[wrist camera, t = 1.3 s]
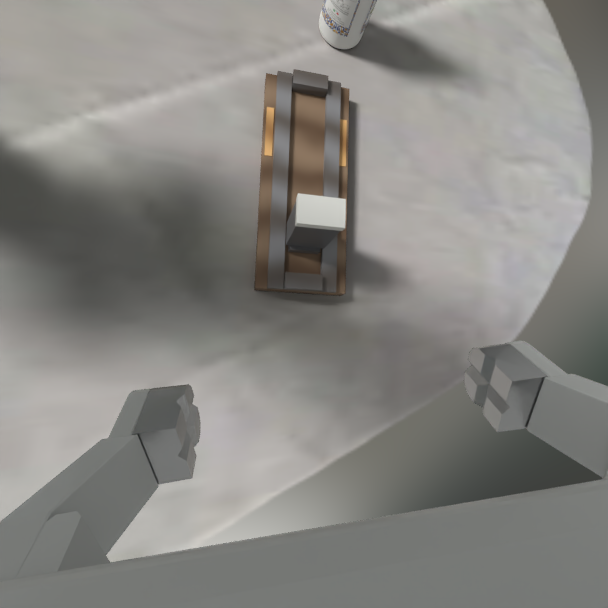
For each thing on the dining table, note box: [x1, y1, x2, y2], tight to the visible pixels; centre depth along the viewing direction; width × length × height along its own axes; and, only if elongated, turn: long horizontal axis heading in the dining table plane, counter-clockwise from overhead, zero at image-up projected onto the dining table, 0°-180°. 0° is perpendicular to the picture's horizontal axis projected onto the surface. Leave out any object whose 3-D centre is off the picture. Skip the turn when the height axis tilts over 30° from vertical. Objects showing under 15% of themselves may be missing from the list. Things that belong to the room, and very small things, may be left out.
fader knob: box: [286, 193, 346, 254], centre depth 40 cm, size 4×5×10 cm
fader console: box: [254, 69, 349, 296], centre depth 46 cm, size 30×12×4 cm, turn 178°
